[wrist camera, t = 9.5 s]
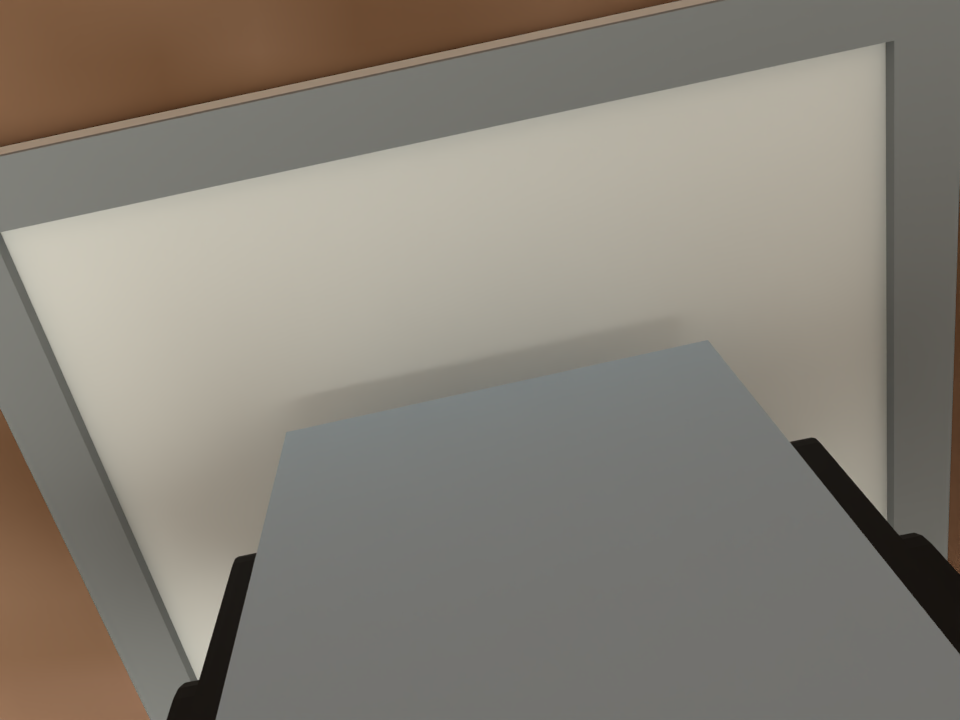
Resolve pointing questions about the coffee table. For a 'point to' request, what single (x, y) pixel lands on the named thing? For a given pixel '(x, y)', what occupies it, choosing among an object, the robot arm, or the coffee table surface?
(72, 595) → the coffee table surface
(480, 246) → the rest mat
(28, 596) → the coffee table surface
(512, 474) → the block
